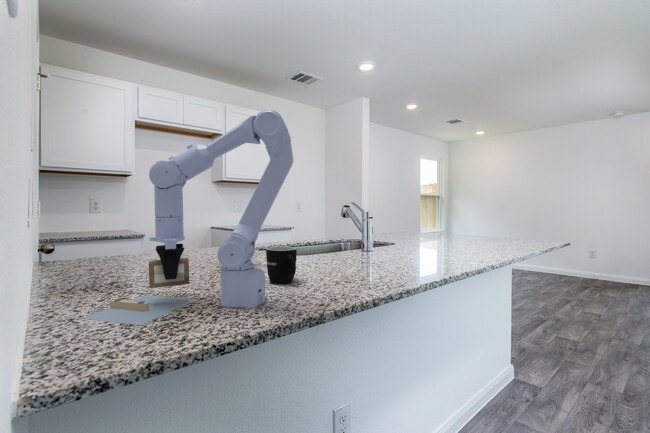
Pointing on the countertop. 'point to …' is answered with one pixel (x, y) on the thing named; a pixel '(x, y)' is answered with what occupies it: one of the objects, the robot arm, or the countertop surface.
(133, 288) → the countertop surface
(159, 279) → the brown square box
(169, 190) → the robot arm
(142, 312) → the blue flat mat
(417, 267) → the countertop surface
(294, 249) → the mug
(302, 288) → the countertop surface
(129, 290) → the countertop surface
